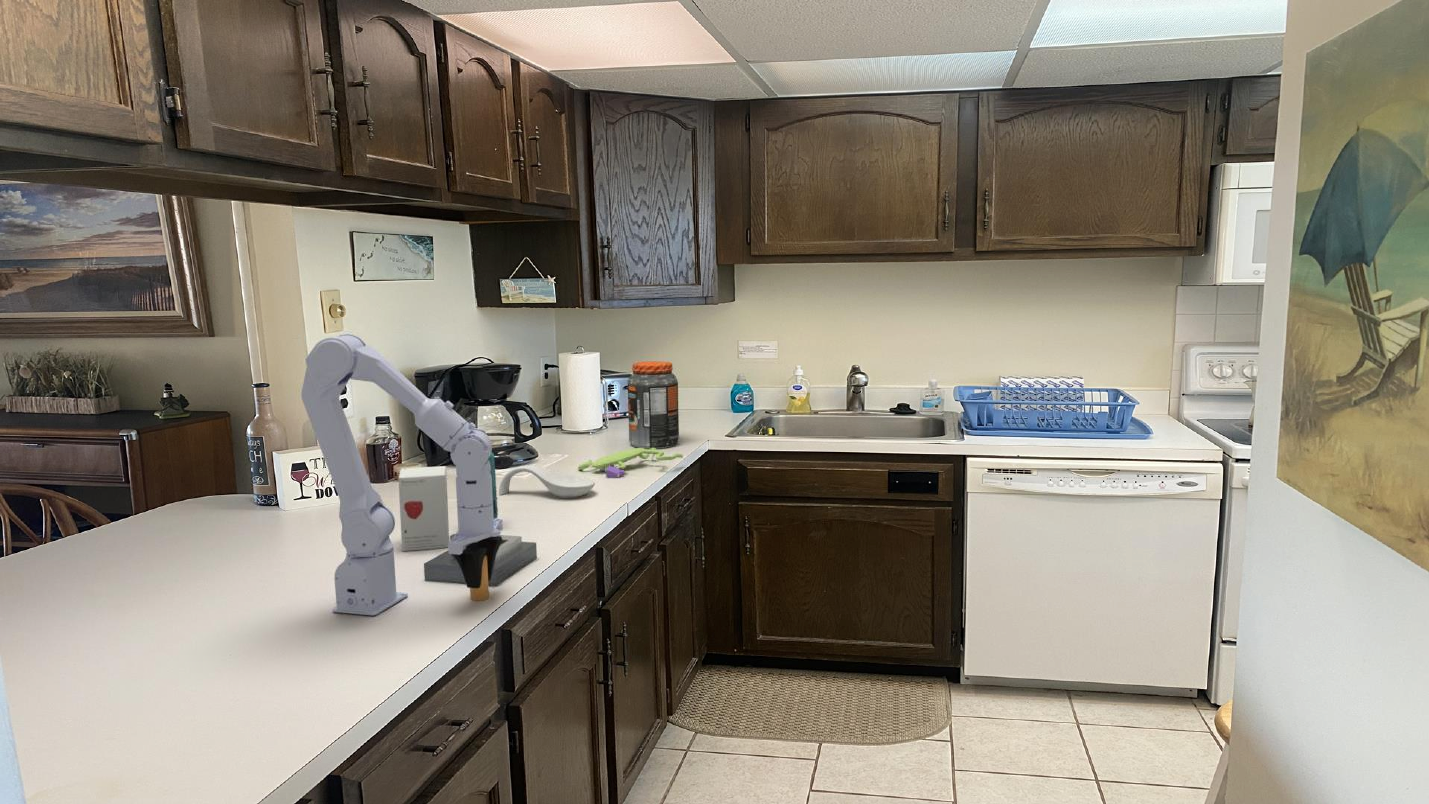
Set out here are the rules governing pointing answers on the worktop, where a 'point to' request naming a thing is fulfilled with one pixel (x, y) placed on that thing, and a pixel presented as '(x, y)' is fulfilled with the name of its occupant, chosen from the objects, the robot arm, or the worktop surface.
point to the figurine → (624, 460)
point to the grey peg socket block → (450, 570)
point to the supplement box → (423, 508)
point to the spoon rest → (552, 481)
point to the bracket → (508, 546)
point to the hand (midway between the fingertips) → (479, 583)
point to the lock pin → (483, 590)
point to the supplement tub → (653, 405)
